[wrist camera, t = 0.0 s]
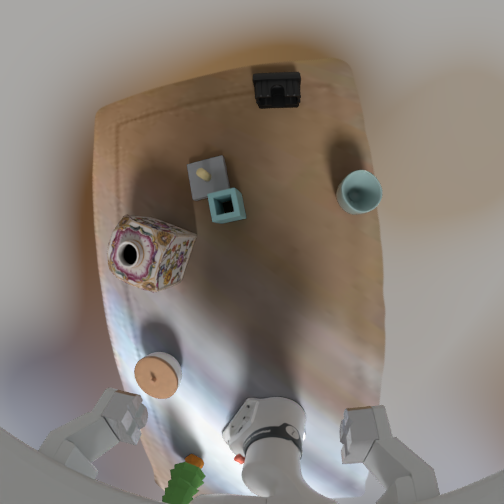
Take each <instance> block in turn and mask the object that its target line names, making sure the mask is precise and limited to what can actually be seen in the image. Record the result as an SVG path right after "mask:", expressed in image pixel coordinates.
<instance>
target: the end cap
mask: <svg viewBox="0 0 504 504" xmlns="http://www.w3.org/2000/svg"><path fill="white" fill-rule="evenodd" d="M253 83H254V87H255V99H256V103H257V104H258V106H259V108H261V109H263V108H293V107H298V106H299V103H300V98H301V95H300V83H301V77H300V73H299V72H279V73H258V74H253Z"/></svg>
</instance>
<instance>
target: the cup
mask: <svg viewBox="0 0 504 504" xmlns="http://www.w3.org/2000/svg"><path fill="white" fill-rule="evenodd" d="M381 198H382V188H381V185H380V183H379V181H378V180H377V178H376V177H375V176H374V175H373V174H372V173H370V172H368V171H365V170H356V171H353V172H351V173H350V174H348V175H347V176H346V177H345V178H344V179H343V180H342V181H341V183H340V184H339V186H338V188H337V191H336V199H337V202H338V204H339V205H340V207H341V208H342V209H343V210H344V211H345V212H347V213H349V214H352V215H359V214H364V213H367V212H369V211H371V210H373V209H374V208H375V207H376V206H377V205H378V204H379V203H380V201H381Z"/></svg>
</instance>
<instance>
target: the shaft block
mask: <svg viewBox="0 0 504 504" xmlns="http://www.w3.org/2000/svg"><path fill="white" fill-rule="evenodd" d="M187 169H188V175H189V181H190V187H191V192H192V198H193V200H195V201H197V200H201V199H205V198H208V196H207V194H209V193H213V192H218V191H222V190H226V189H230V185H229V180H228V175H227V170H226V165H225V159H224V157H223V156H222V155H221V156H217V157H213V158H209V159H206V160H202V161H198V162H194V163H191V164H187Z"/></svg>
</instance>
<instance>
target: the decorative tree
mask: <svg viewBox="0 0 504 504" xmlns="http://www.w3.org/2000/svg"><path fill="white" fill-rule="evenodd" d="M185 461H186V462H183V463H179V464H175V469H171V470H170V471H171V479H172V480H169V481H168V488H165V495H164V496H162V502H165V503H169V504H189V503H190V502H191V501H192V500H193V498H192V496H193V495H195V494H196V493H197V492H198V491H199V490H197V488H198V487H200V486H201V485H202V484H203V483H204V482H203V481H202V479H203V478H204V477H206V476H205V475H204V473H203V472H202V471H201V469H200V468H202V467H203V465H204V463H203V460H202V459H201V458H199V457H197V456H195V455H193V454H190V455H189V456H187V457H186V458H185Z"/></svg>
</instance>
